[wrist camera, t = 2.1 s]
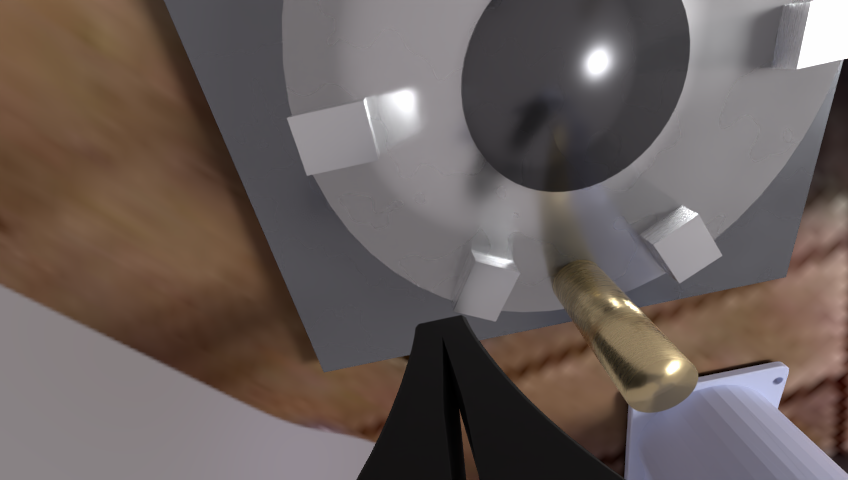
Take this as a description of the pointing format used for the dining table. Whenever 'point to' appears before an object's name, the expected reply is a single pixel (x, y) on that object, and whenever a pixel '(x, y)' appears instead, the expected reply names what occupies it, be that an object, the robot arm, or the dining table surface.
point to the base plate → (350, 261)
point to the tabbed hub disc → (556, 146)
